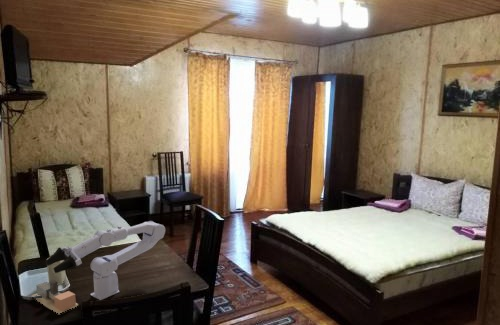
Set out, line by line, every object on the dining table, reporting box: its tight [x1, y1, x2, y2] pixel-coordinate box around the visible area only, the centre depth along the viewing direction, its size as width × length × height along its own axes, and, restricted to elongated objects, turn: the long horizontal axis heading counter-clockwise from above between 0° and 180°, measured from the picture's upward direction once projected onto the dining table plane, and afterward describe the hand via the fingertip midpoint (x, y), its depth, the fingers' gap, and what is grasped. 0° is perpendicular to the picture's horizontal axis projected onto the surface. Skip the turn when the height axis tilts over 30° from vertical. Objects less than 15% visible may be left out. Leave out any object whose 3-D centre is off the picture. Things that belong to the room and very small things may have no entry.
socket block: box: [54, 290, 77, 311], centre depth 152 cm, size 6×5×5 cm
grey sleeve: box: [36, 281, 50, 300], centre depth 161 cm, size 4×8×4 cm, turn 54°
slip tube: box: [47, 280, 62, 300], centre depth 158 cm, size 2×15×7 cm, turn 53°
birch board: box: [31, 293, 79, 315], centre depth 158 cm, size 8×23×1 cm, turn 54°
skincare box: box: [46, 255, 67, 285], centre depth 175 cm, size 6×4×12 cm
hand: (50, 267), depth 147 cm, fingers open, 7 cm apart
